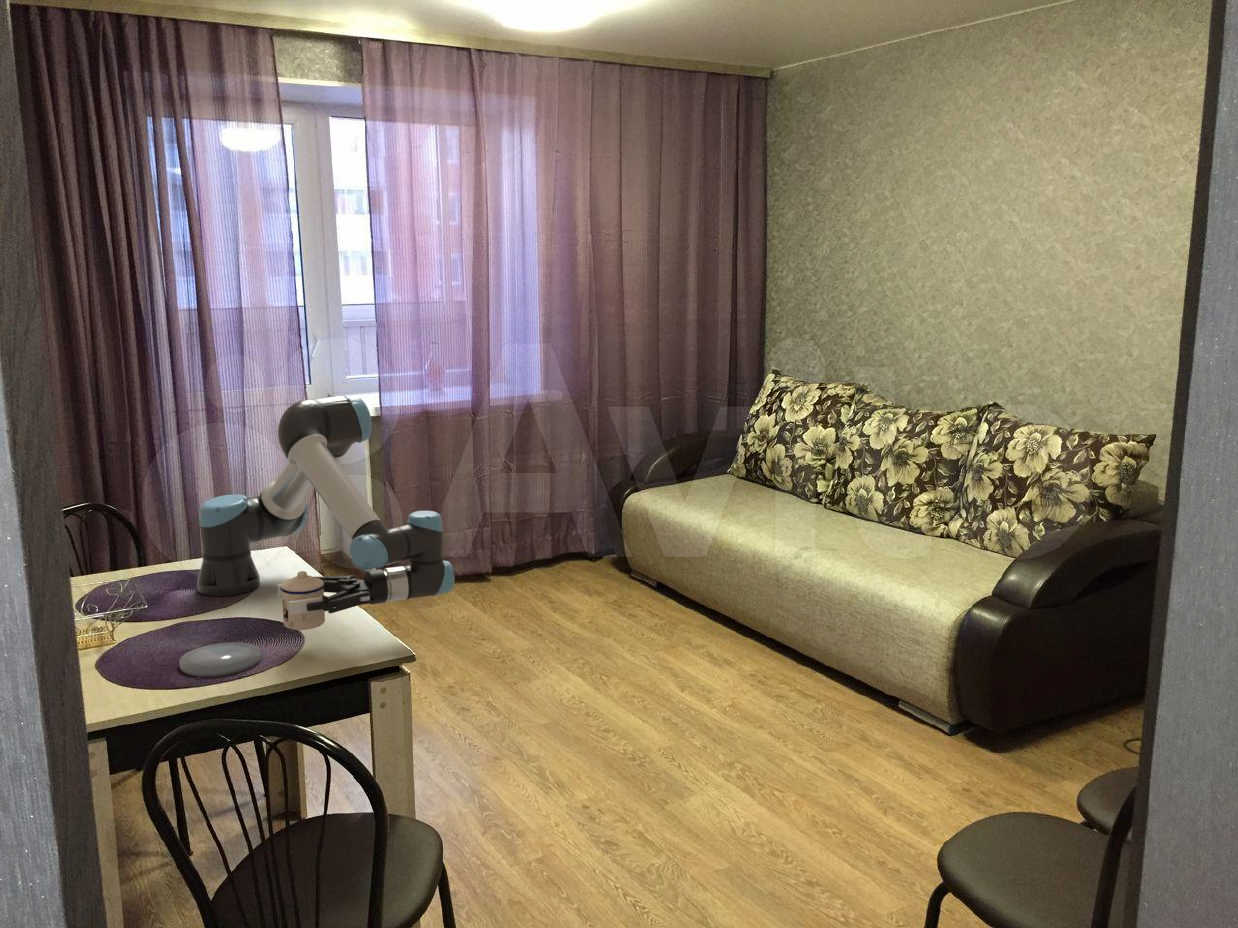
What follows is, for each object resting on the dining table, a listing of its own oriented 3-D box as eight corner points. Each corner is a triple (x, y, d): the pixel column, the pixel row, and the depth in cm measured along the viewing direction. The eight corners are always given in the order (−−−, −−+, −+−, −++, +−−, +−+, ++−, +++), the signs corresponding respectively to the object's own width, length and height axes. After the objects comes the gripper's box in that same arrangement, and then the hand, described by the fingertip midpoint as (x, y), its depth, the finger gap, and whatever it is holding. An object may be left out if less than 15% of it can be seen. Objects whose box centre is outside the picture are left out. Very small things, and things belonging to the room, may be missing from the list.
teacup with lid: (285, 617, 227) (283, 566, 225) (328, 615, 228) (326, 565, 226) (277, 636, 215) (274, 583, 213) (322, 634, 217) (320, 582, 215)
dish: (175, 655, 219) (175, 649, 219) (254, 642, 227) (253, 637, 226) (184, 682, 205) (183, 676, 205) (267, 667, 213) (267, 661, 212)
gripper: (400, 618, 220) (296, 634, 209) (370, 586, 240) (274, 599, 230) (399, 584, 218) (294, 599, 208) (369, 555, 238) (272, 567, 228)
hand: (283, 599), depth 219 cm, fingers closed on teacup with lid, 11 cm apart
